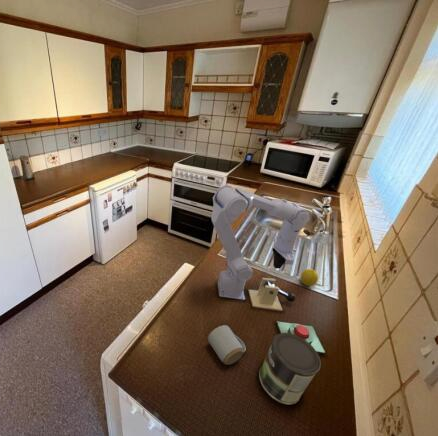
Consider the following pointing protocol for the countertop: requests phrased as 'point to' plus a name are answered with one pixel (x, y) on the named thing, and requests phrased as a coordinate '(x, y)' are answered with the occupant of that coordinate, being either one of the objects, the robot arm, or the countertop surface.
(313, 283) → the lemon
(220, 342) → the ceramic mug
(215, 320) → the countertop surface
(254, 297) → the lever bracket
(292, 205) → the robot arm
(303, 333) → the button
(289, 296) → the press lever
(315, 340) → the control block
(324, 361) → the countertop surface
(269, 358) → the coffee can
